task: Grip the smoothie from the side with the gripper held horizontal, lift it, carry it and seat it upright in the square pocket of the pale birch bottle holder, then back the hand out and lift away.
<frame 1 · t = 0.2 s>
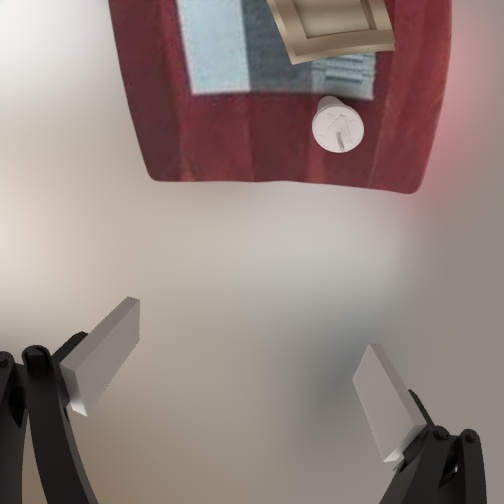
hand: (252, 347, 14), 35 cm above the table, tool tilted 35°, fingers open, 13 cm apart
bottle holder: (326, 4, 23), on the table
smoothie: (329, 106, 36), on the table
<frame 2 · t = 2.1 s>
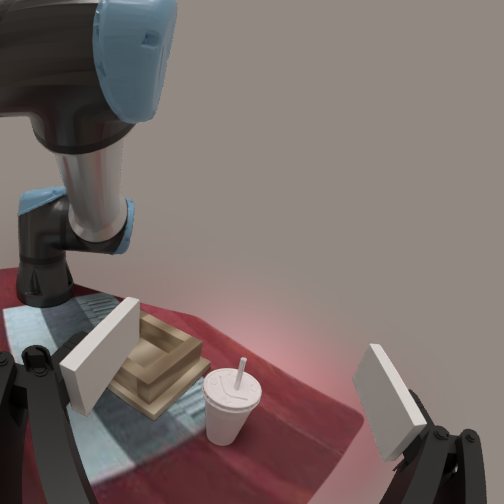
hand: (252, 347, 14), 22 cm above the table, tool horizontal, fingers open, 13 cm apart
bottle holder: (143, 368, 38), on the table
smoothie: (220, 435, 29), on the table
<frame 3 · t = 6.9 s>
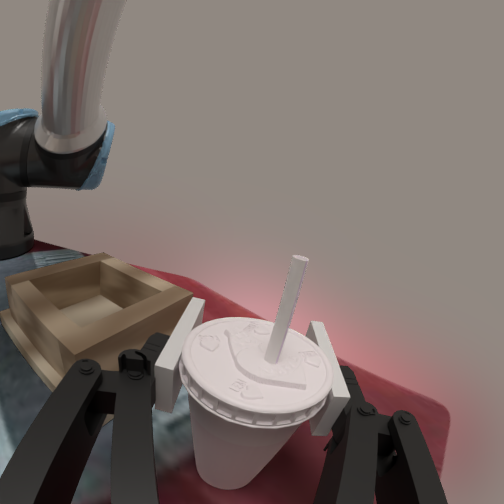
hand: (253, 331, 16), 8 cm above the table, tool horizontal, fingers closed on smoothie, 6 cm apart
bottle holder: (95, 339, 22), on the table
smoothie: (225, 467, 13), on the table, touching gripper
when the fingers open (11 cm above the table, at t = 11.5 s): smoothie drops 1 cm, resting on bottle holder.
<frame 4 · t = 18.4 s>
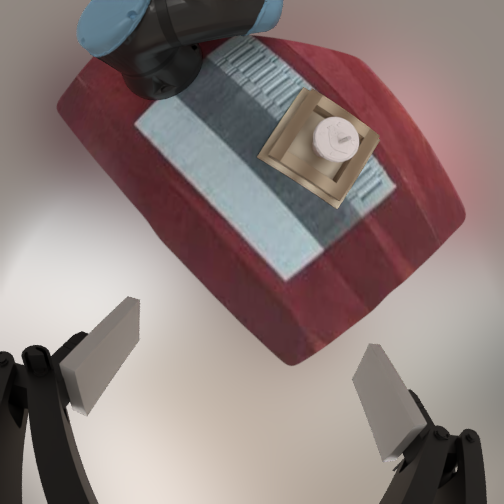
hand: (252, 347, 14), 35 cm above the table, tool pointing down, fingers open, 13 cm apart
bottle holder: (320, 147, 44), on the table
smoothie: (322, 147, 42), point 1 cm above the table, touching bottle holder
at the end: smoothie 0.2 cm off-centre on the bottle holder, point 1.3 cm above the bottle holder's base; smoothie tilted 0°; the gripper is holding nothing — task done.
